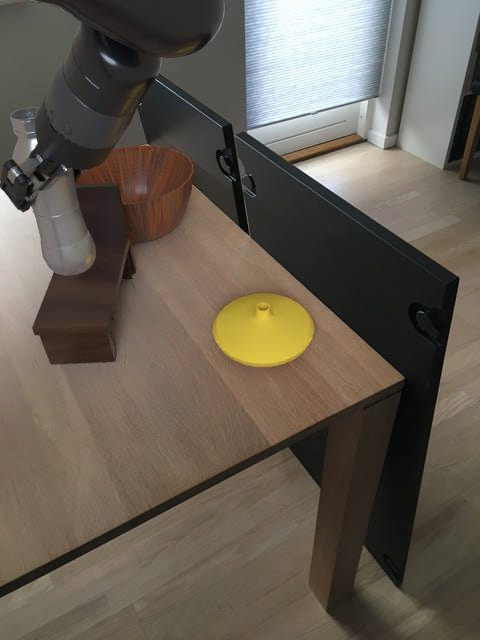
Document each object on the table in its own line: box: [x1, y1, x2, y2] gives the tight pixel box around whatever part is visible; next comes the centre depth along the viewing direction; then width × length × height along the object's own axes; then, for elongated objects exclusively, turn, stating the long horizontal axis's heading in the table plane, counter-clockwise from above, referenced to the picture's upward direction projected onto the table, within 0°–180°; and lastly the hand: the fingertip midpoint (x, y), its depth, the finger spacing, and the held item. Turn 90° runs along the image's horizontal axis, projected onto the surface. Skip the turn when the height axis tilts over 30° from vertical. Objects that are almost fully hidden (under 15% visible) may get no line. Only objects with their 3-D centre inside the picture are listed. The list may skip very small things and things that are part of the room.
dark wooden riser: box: [31, 183, 137, 365], centre depth 86 cm, size 24×11×18 cm, turn 1°
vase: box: [212, 292, 315, 368], centre depth 83 cm, size 16×16×7 cm
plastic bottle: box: [9, 106, 96, 276], centre depth 63 cm, size 6×7×20 cm
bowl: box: [75, 144, 194, 244], centre depth 109 cm, size 25×25×11 cm
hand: (42, 192), depth 64 cm, fingers closed on plastic bottle, 6 cm apart
